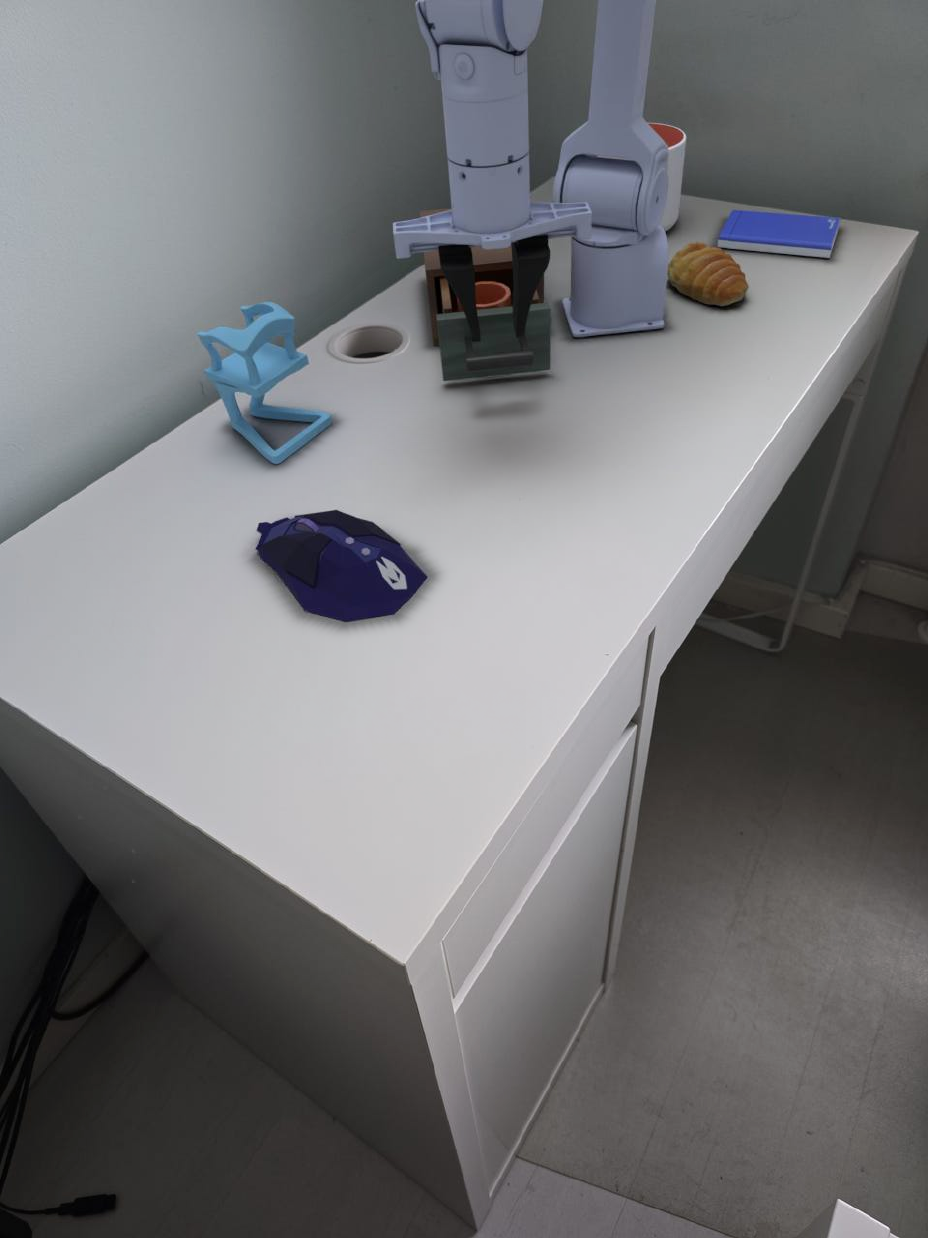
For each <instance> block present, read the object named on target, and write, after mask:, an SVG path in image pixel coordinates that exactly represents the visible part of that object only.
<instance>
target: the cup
mask: <svg viewBox="0 0 928 1238" xmlns="http://www.w3.org/2000/svg"><path fill="white" fill-rule="evenodd" d="M647 123H648V124H649V126H650V127H651V128H652V129H653V130H654V131H655V132H656V133H657V134H658V135H659V136H660V137H661V138H662V139H663V140H664V141H665V143H666V144H667V145H668V152H669V156H668V169H667V174H668V194H667V200H666V205H665V209H664V213H663V216H662V218H661V221H660V223H659V225H658V226H662V227H663V228H664V230H665V233H666V232H667V231H669V230H670V229H671V228H673V226H674V225H675V224H676V222H677V220H678V218H679V215H680V214H679V213H680V206H681V205H680V204H681V203H680V202H681V195H682V184H683V174H684V166H685V155H686V145H687V135H686V133H685V131H683V130H682V129H681V128H679V127H677V126H673V125H669V124H666V123H665V124H664V123H659V122H657V123H656V122H647ZM596 157H605V158H615V159H624V160H631V159H628V158H618V157H608V156H599V155H596Z"/></svg>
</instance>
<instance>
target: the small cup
mask: <svg viewBox="0 0 928 1238" xmlns="http://www.w3.org/2000/svg"><path fill="white" fill-rule="evenodd" d="M475 293H476V308H477V310H483V309H493V308H502V307H511V292H510V289H509V288H508V287H507V286H506V285H504V284H502V283H498V282H493V281H481V282H476V283H475ZM457 306H458V312H464V311H463V309H462V306H461V304H460V302H459V300H458V298H457Z"/></svg>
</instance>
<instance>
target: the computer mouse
mask: <svg viewBox="0 0 928 1238" xmlns="http://www.w3.org/2000/svg"><path fill="white" fill-rule="evenodd" d="M255 531H256V532H257V533H259V534H260V537H259V541H258V543H257V545H256V547H254V550H255V551H257V552H258V554H259V558H260V559H261V560H262V561H263V562H264V563H265V564H267V565H268V566H269V567H270V568H271V569H273V570H274V571H275V572H276V574H277V575H278V577H279V578H280V579H281V581H282V582H283V583H284V584H285V586H286V588H287V589H288V590H289V591H290V593H291V594H292V595H293V597H294V599H295V600H296V601H297V603H298V604H299V605H300V607H301V608H302V609H303V611H304V612H307V613H310V614H315V615H319V616H323V617H327V618H331V619H335V620H339V621H342V622H351V621H357V620H364V619H371V618H377V617H383V616H389V615H395V614H396V613H397V612H398V611H399V610H400V609H401V608H402V607H403V606H404V605H405V604H406V603H407V602H408V601H409V600H410V599H411V598H412V597H413V596H414V594H415V593H416V592H417V591H418V589H419V588H420V587H421V586H422V585H423V584H424V582H425V580H427V579H428V576H427V574H426V573H425V572H424V571H423V569H421V567H420V566H419V565H418V564H416V562H415V561H414V560H413V559H412V558H411V556H409V555H408V553H407V552H406V551H405V549H404V548H403V547H402V546H401V545H402V543H400V542H399V541H397V539H396V538H394V537H393V536H391V535H390V534H389V533H388V532H386V531H385V530H384V529H383V528H381V527H380V526H379V525H378V524H376V523H375V522H374V521H371V520H367V519H363V518H359V517H357V516H353V515H352V514H348V513H346V512H343V511H341V510H339V509H332V510H326V511H320V512H319V511H317V512H311V513H305V514H296V515H294V516H293V517H292V518H289V517H284V518H281V519H278V520H275V521H273V522H268V521H263V522H258V525H257V527H256V530H255Z"/></svg>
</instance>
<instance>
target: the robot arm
mask: <svg viewBox="0 0 928 1238" xmlns="http://www.w3.org/2000/svg"><path fill="white" fill-rule="evenodd" d="M656 3H657V0H597V9H596V10H597V11H596V22H595V23H596V25H595V36H594V47H593V58H592V71H591V83H590V95H589V96H590V97H589V107H588V118H587V121H586V122H584V123H583V124H582V125H580V126H578V127H577V128H576V129H575V130H574V131H573V132H571V133H570V134H569V135H568V136H567V137H566V138H565V139H564V141H563V142H562V144H561V148H560V154H559V161H558V167H557V170H556V173H555V176H554V181H553V186H552V202H540V201H539V202H537V201H531V187H530V186H531V182H530V181H531V180H530V176H531V175H530V174H531V173H530V131H529V130H530V127H529V85H528V84H529V83H528V79H529V78H528V77H529V76H528V47H529V46H530V45H531V44H532V42H533V41H534V40H535V39H536V37H537V34H538V31H539V27H540V24H541V19H542V15H543V14H542V12H543V7H544V0H417V1H415V5H414V6H415V13H416V19H417V23H418V26H419V30H420V32H421V35H422V38H423V39H424V41H425V43H426V44H427V47H428V51H429V57H430V67H431V73H433V76H434V79H436V80H437V81H439V82H440V85H441V86H440V87H441V97H442V109H443V120H444V121H443V124H444V134H445V147H446V157H447V167H448V168H447V171H448V181H449V183H448V184H449V195H450V205H451V207H450V208H452V210H449V211H445V212H441V213H437V214H433V215H429V216H425V217H421V218H420V217H418V218H414V219H408V220H403V221H395V222H392V234H393V242H394V250H395V258H396V259H397V260H400V259H408V258H411V257H412V254H419V253H424V252H431V251H439V259H440V267H441V270H442V272H443V274H444V276H445V278H446V280H447V281H448V283H449V284H450V286H451V287H452V289H453V291H454V293H455V294H456V296H457V298H458V300H459V302H460V304H461V306H462V309H463V311H464V313H465V316H466V319H467V322H468V325H469V328H470V333H471V339H472V342H479V341H481V337H480V327H479V321H478V315H477V308H476V293H475V270H474V265H473V257H472V251H471V247H478V246H482V248H483V249H486V250H491V249H501V248H507V247H509V246H511V248H512V264H513V326H514V330H515V335H516V338H517V337H524V336H525V328H526V322H527V317H528V313H529V309H530V306H531V303H532V300H533V297H534V294H535V292H536V289H537V287H538V284H539V282H540V280H541V278H542V276H543V274H544V275H545V273H546V271H547V269H548V267H549V264H550V260H551V249H550V246H549V240H553V239H561V238H571V241H570V242H571V245H570V247H571V248H570V297H564V298H562V300H561V305H562V308H563V311H564V314H565V317H566V320H567V324H568V326H569V329H570V332H571V336H572V337H574V338H584V337H591V336H601V335H612V334H620V333H631V332H639V331H650V330H659V329H663V328H665V325H666V323H665V321H664V317H665V316H664V315H665V303H666V293H667V284H668V283H667V282H668V275H667V274H668V265H669V242H668V237H667V233H666V232H665V230H664V228H663V227H662V226H658V225H659V223H660V221H661V218H662V216H663V213H664V209H665V205H666V200H667V194H668V174H667V169H668V156H669V152H668V145H667V144H666V143H665V141H664V140H663V139H662V138H661V137H660V136H659V135H658V134H657V133H656V132H655V131H654V130H653V129H652V128H651V127H650V126H649V124H648V123H649V122H647V121H646V120H645V118H644V117H643V116H644V109H645V108H644V107H645V99H646V90H647V81H648V74H649V73H648V72H649V64H650V57H651V56H650V55H651V47H652V39H653V31H654V22H655V12H656ZM597 155H599V156H608V157H618V158H628V159H631V160H624V159H615V158H605V157H597Z"/></svg>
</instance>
